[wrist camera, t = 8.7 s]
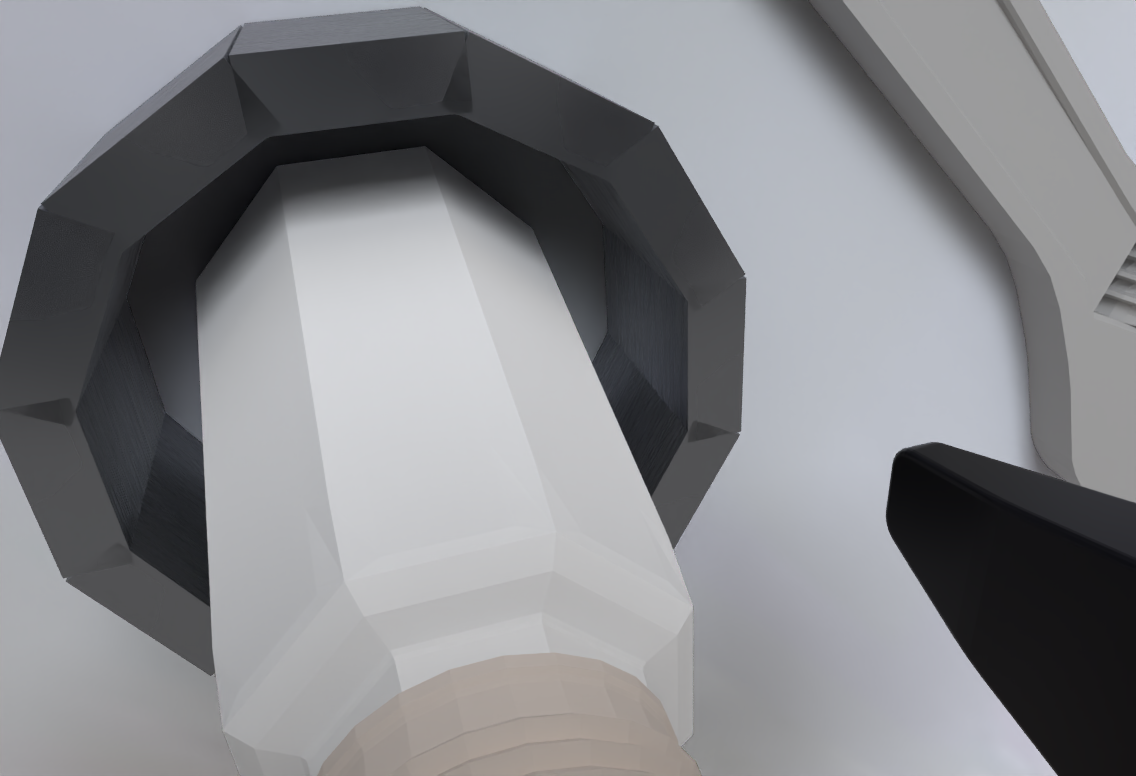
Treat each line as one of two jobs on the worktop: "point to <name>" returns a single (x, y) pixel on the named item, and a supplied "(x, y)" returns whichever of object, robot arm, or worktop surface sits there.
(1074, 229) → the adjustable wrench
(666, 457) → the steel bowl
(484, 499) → the salt shaker
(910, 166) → the worktop surface
